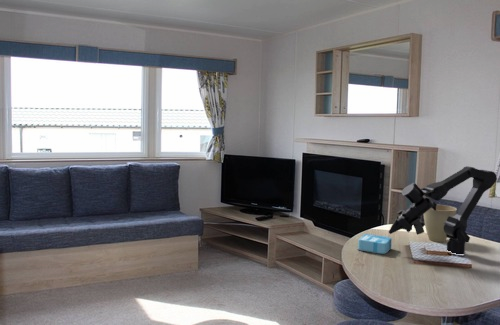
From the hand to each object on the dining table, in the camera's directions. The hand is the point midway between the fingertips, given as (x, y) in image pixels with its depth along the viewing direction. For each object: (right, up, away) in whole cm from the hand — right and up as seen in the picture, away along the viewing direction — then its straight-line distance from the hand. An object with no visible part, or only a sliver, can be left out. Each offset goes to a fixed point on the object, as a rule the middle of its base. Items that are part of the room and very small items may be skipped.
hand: (389, 233), depth 201 cm
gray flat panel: (-6, -8, +5) cm, 11 cm away
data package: (0, -6, +1) cm, 6 cm away
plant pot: (+29, -7, +23) cm, 38 cm away
